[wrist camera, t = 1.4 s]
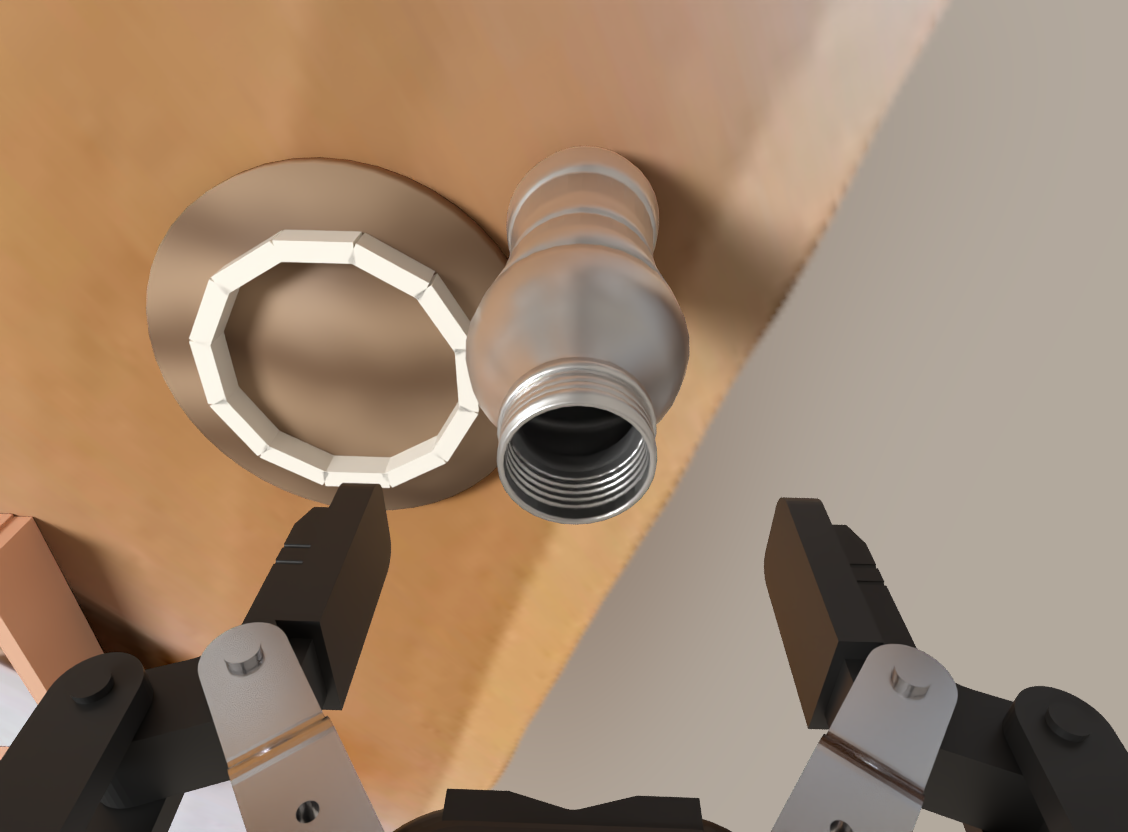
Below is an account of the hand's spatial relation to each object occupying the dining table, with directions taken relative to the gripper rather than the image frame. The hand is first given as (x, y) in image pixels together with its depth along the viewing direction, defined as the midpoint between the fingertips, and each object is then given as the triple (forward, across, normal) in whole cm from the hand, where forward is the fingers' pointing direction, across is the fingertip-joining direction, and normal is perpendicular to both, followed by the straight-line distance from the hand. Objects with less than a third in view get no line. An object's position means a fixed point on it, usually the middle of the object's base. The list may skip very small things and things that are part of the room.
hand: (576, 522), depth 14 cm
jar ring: (+21, +12, +8) cm, 25 cm away
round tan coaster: (+22, +12, +8) cm, 26 cm away
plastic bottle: (+22, 0, 0) cm, 22 cm away
